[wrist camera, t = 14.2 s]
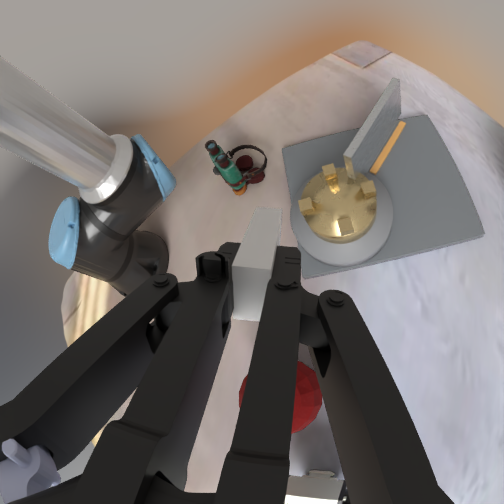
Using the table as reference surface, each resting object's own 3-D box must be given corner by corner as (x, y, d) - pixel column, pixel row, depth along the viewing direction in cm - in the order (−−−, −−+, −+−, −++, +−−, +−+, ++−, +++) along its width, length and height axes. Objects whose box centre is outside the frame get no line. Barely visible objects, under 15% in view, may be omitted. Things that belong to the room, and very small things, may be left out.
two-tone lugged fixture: (353, 257, 38) (348, 234, 31) (291, 222, 43) (274, 196, 36) (425, 123, 39) (427, 88, 32) (371, 104, 45) (366, 70, 38)
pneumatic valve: (286, 462, 35) (257, 492, 25) (360, 468, 30) (353, 504, 20) (282, 489, 33) (253, 522, 23) (354, 495, 29) (345, 535, 18)
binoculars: (262, 137, 45) (213, 170, 45) (278, 175, 54) (235, 203, 55) (238, 116, 49) (194, 145, 50) (255, 151, 59) (216, 177, 59)
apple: (328, 353, 39) (313, 354, 29) (331, 421, 35) (316, 445, 25) (259, 358, 43) (223, 359, 33) (262, 422, 39) (226, 440, 29)
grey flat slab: (304, 279, 44) (297, 271, 41) (284, 153, 54) (276, 139, 51) (482, 237, 34) (490, 225, 30) (426, 119, 44) (427, 104, 40)
